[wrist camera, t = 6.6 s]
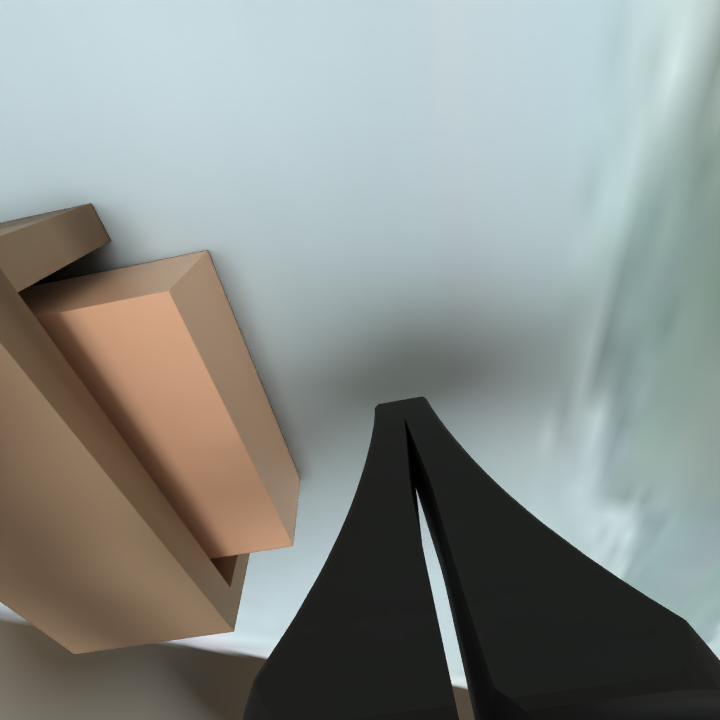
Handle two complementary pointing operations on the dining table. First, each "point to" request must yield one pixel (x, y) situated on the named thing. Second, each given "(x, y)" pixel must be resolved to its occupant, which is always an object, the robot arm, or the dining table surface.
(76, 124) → the dining table surface
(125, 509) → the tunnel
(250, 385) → the peach rectangular prism
